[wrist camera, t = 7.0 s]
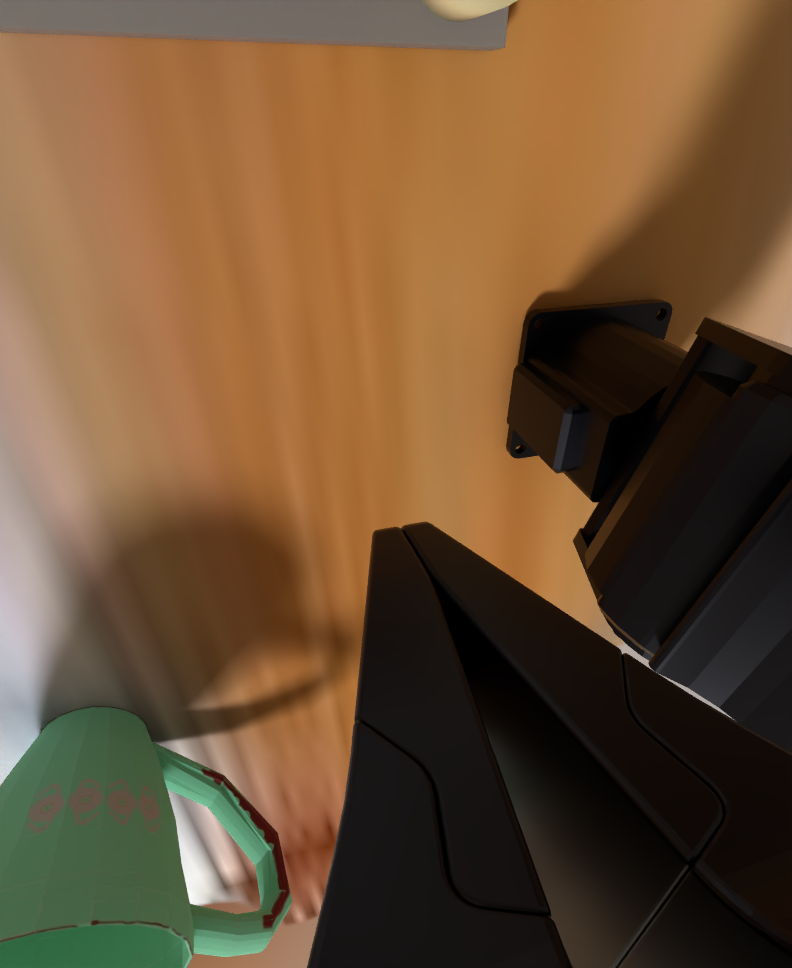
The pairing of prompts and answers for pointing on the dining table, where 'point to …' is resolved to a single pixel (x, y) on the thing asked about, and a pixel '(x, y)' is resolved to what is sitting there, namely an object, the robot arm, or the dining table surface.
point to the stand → (272, 21)
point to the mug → (119, 853)
